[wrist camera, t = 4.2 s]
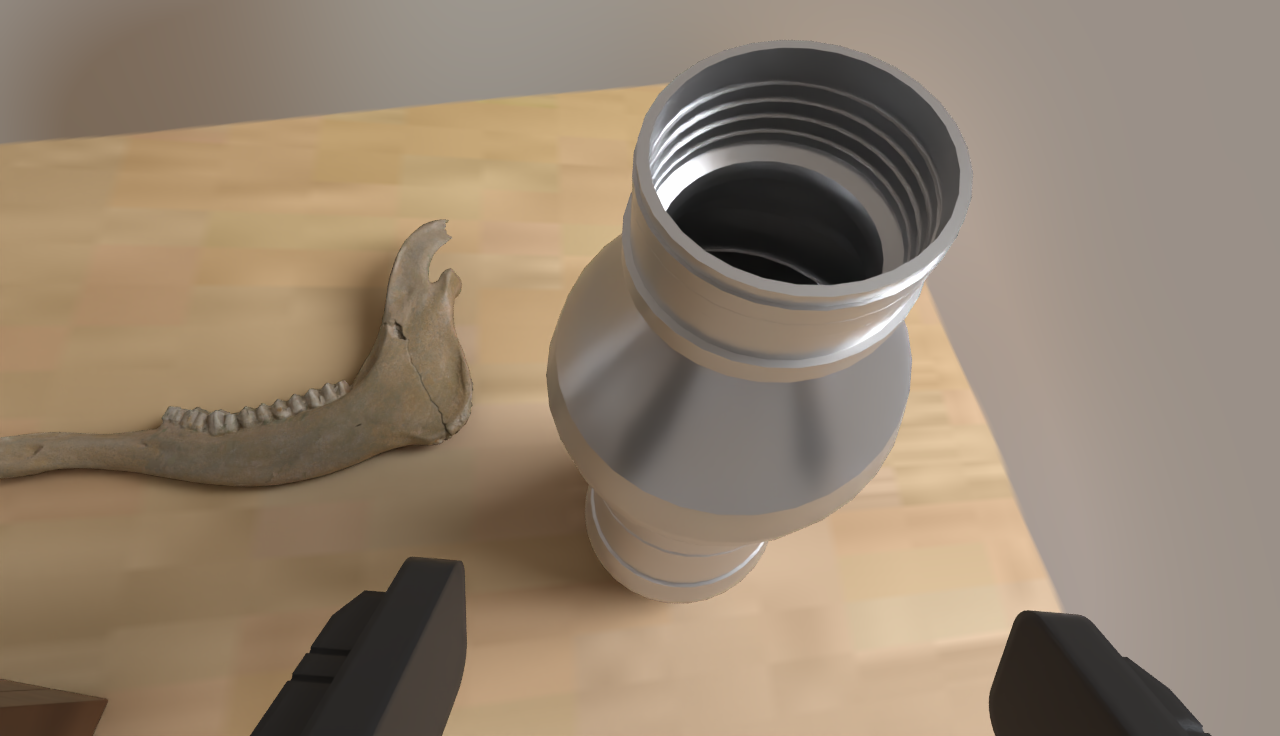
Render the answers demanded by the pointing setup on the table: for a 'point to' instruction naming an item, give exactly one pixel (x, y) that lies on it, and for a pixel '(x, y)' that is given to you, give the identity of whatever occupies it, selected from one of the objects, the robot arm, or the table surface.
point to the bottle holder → (47, 711)
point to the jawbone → (303, 404)
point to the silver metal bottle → (753, 309)
